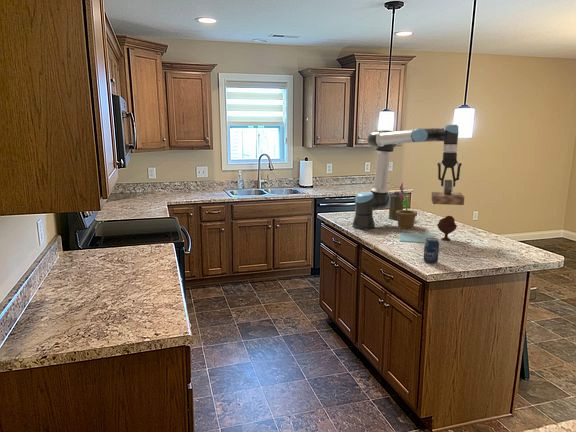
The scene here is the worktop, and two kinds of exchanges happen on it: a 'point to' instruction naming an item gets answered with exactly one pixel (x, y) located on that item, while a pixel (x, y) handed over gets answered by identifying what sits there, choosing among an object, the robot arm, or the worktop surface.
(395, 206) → the canister
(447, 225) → the ice cream bowl
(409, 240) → the mat
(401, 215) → the flowerpot
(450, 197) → the lid
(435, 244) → the soda can
